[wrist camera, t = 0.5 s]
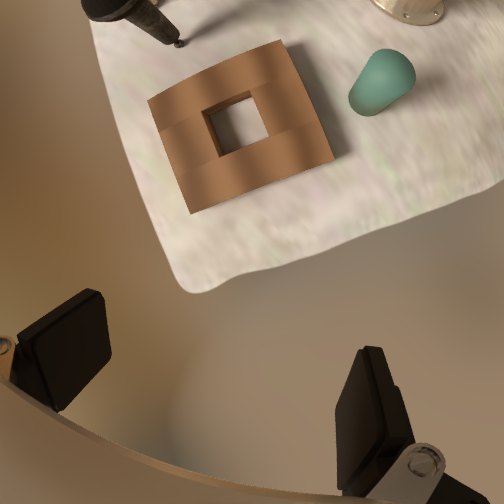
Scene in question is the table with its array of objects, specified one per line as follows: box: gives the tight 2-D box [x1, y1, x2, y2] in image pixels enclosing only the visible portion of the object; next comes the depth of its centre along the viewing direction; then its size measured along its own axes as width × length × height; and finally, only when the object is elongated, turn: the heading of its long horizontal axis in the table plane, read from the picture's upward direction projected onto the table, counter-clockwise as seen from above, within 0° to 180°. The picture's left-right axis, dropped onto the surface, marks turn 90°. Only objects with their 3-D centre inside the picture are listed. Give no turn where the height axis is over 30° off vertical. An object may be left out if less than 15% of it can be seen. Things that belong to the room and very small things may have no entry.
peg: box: [348, 49, 416, 116], centre depth 25 cm, size 4×4×12 cm
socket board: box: [147, 39, 335, 214], centre depth 33 cm, size 18×16×3 cm
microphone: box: [81, 0, 184, 48], centre depth 23 cm, size 7×7×20 cm
